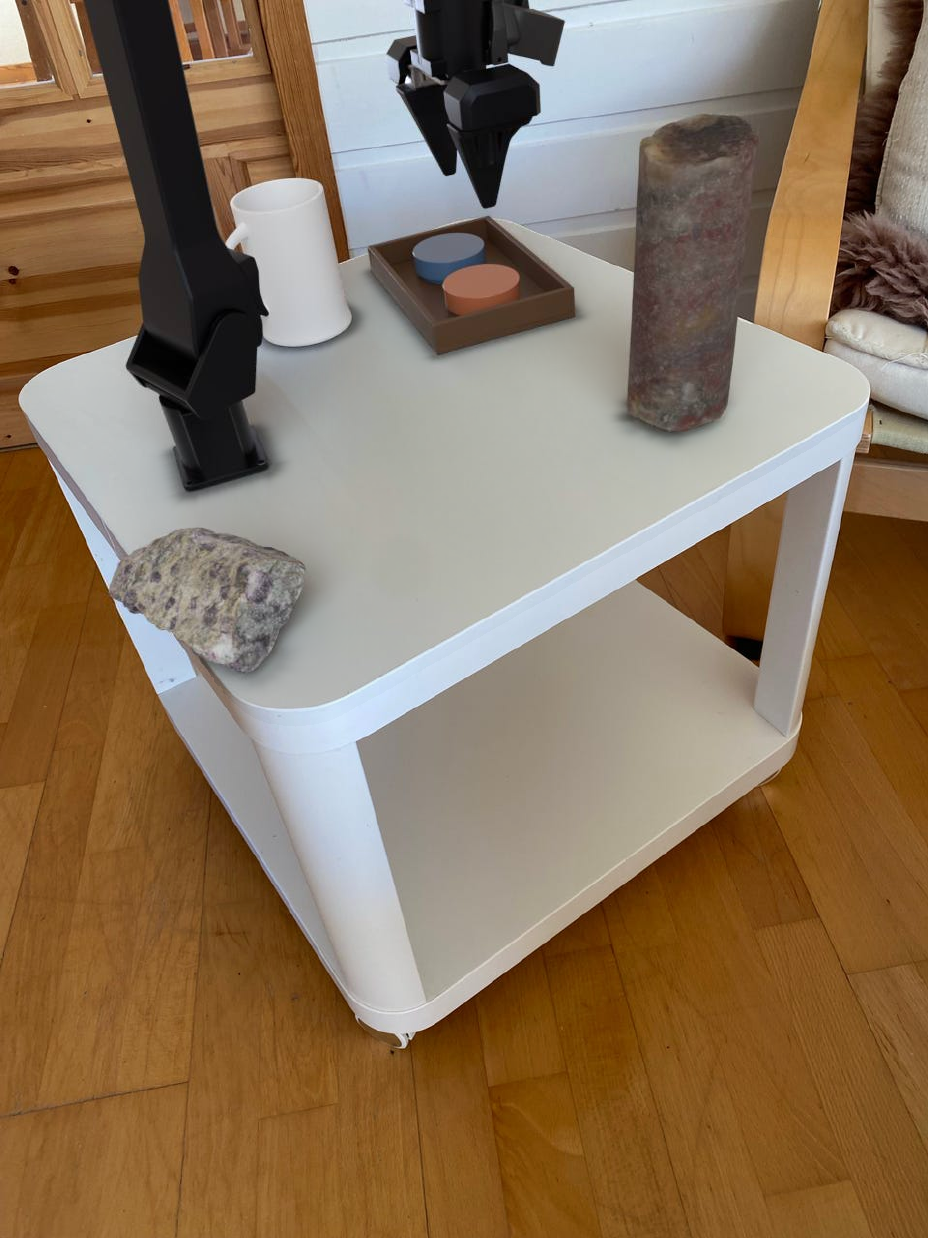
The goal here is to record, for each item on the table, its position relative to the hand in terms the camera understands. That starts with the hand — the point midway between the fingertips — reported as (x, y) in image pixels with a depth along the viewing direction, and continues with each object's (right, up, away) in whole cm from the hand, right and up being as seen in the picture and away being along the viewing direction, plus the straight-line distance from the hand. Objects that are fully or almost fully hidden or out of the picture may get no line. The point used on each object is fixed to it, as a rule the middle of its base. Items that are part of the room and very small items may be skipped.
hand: (468, 190), depth 79 cm
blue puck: (-2, -2, +14) cm, 14 cm away
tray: (0, -5, +11) cm, 12 cm away
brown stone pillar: (+16, -21, -8) cm, 27 cm away
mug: (-16, -9, +9) cm, 21 cm away
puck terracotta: (+1, -7, +8) cm, 11 cm away
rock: (-19, -38, -24) cm, 49 cm away
